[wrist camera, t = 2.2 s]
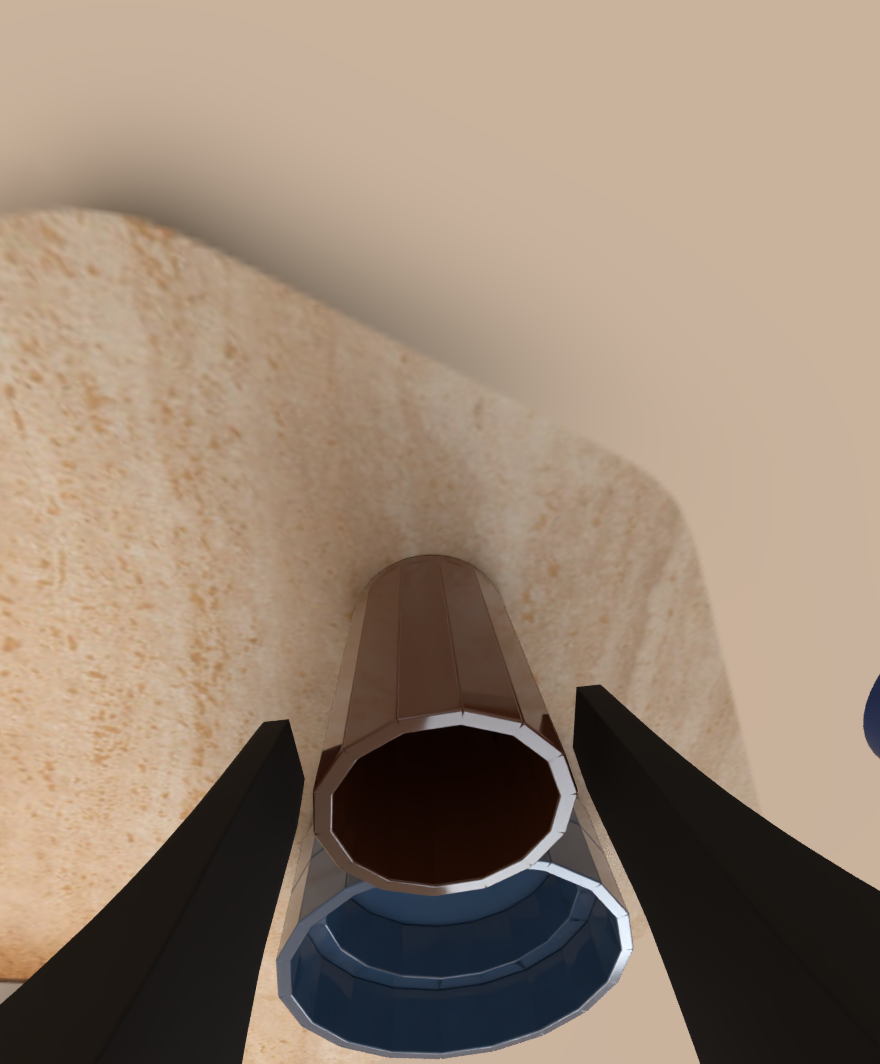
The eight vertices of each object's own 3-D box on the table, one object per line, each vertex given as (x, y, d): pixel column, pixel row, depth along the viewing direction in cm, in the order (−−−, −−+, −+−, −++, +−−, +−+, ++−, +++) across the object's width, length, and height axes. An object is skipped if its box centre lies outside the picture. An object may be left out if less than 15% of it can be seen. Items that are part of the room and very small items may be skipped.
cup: (515, 558, 14) (603, 713, 8) (491, 685, 16) (547, 894, 10) (356, 547, 14) (312, 705, 7) (352, 681, 16) (313, 899, 9)
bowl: (615, 739, 18) (678, 853, 14) (554, 924, 23) (587, 1050, 18) (304, 734, 17) (268, 857, 12) (306, 931, 21) (282, 1069, 17)
